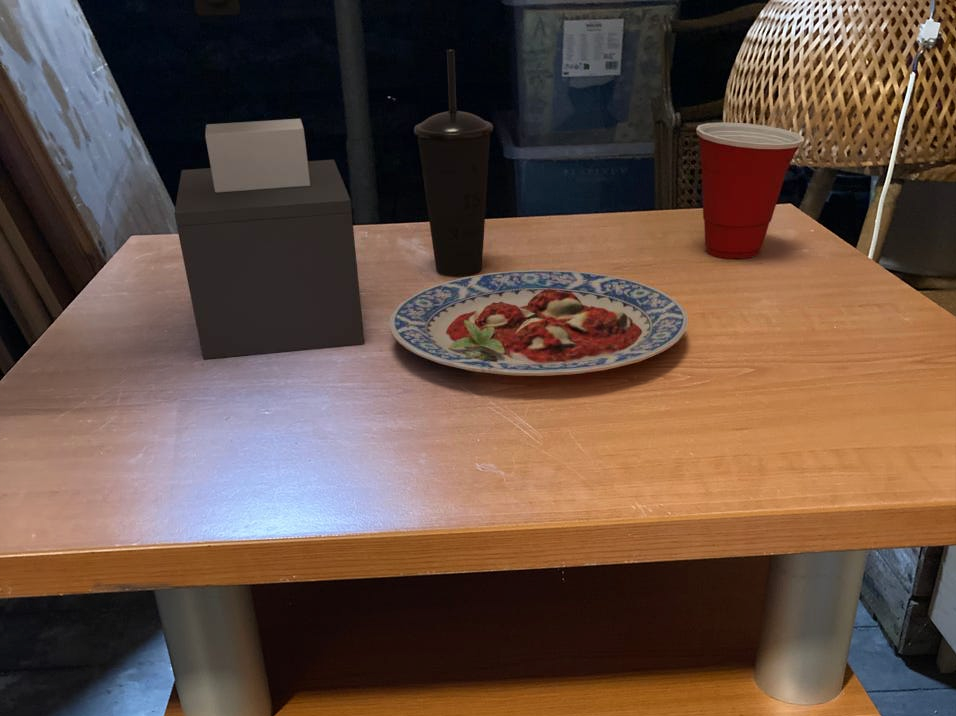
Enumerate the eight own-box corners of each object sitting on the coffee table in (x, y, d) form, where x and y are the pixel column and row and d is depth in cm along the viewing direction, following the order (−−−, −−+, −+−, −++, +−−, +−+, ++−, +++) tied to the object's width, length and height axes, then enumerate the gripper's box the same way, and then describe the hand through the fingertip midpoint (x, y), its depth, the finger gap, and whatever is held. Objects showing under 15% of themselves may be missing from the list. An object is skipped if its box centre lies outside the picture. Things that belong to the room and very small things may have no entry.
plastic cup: (795, 266, 103) (816, 138, 96) (689, 267, 103) (702, 140, 96) (777, 237, 111) (794, 117, 104) (679, 237, 112) (690, 119, 105)
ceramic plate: (589, 277, 101) (590, 247, 100) (747, 360, 83) (752, 325, 81) (350, 320, 93) (347, 288, 91) (466, 424, 74) (465, 385, 72)
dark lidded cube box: (203, 359, 86) (174, 213, 79) (206, 301, 99) (181, 169, 91) (364, 344, 88) (350, 199, 81) (347, 288, 101) (334, 159, 93)
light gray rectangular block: (215, 193, 84) (205, 134, 81) (215, 181, 87) (205, 124, 85) (310, 186, 85) (303, 127, 82) (307, 174, 88) (300, 118, 86)
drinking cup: (407, 271, 105) (392, 52, 93) (457, 254, 109) (449, 43, 97) (459, 286, 100) (451, 57, 88) (510, 267, 105) (508, 48, 93)
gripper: (129, -272, 74) (174, 3, 84) (107, -314, 60) (163, 20, 70) (233, -270, 75) (264, 0, 85) (234, -311, 61) (271, 17, 71)
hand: (218, 9), depth 77 cm, fingers open, 9 cm apart
